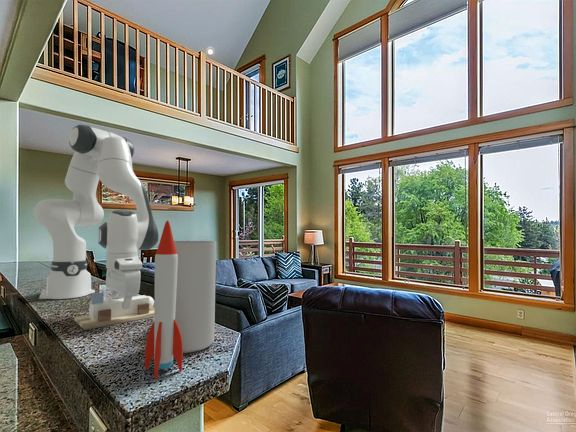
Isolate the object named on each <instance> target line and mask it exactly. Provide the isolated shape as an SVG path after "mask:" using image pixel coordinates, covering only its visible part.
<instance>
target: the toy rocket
mask: <svg viewBox="0 0 576 432" xmlns="http://www.w3.org/2000/svg"><path fill="white" fill-rule="evenodd" d="M174 241H175V240H174V235H173V231H172V227H171V224H170V221H169V220H166V221H165V222H164V226H163V229H162V233H161V236H160V239H159V243H158V246H157V249H156V253H155V255H154V308H155V310H154V317H153V318H154V322H153V321H152V324H151V325H150V329H149V330H148V334H147V336H146V342H145V351H144V352H145V353H144V362H145V363H144V370H145V371H146V370H148V369H149V367H150V365H151V362H152V360H154V361H153V366H154V369H153V372H154V373H153V376H154V377H153V379H154V380H157V379H158V376H159V369H160V370H162V369H168V368H170V367H171V366H173V365H174V359H175V362H176V364H177V367H178V370H179V371H180V372H183V359H184V357H183V355H184V353H183V343H182V336H181V333H180V329H179V327H178V324H177V322H176V320H175V310H176V289H177V268H178V255H177V251H176V247H175V244H174Z"/></svg>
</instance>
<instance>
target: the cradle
mask: <svg viewBox="0 0 576 432" xmlns="http://www.w3.org/2000/svg"><path fill="white" fill-rule="evenodd" d="M154 310H155V306H153V307H152V308H151V309H149V303H144V304H138V310H137V313H136V314H131V315H125V316H119V317H114V318H111V309H105V310H99V311H98V320H96V321H92V320H91V319H90V318H89V314H85V315H80V316H74V318H73V319H74V322H76V323H77V325H79V326H80V327H81V328H82V329H83V330H84V331H86V330H91V329H97V328H102V327H108V326H112V325H118V324H122V323H123V324H124V323H128V322H133V321H139V320H143V319H149V318H154Z"/></svg>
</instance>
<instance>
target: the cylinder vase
mask: <svg viewBox="0 0 576 432" xmlns="http://www.w3.org/2000/svg"><path fill="white" fill-rule="evenodd" d="M174 244H175V247H176V251H177V255H178V268H177V289H176V310H175V320H176V322H177V324H178V327H179V329H180V333H181V336H182V343H183V354H188V353H195V352H200V351H203V350H205V349H207V348H209V347H210V346H212V344H213V343H214V342H215V341H214V340H215V325H216V324H215V323H216V322H215V320H216V318H215V317H216V316H215V315H216V314H215V313H216V279H217V278H216V272H217V271H216V270H217V269H216V268H217V265H216V264H217V241H214V240H213V241H212V240H174Z"/></svg>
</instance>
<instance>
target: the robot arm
mask: <svg viewBox="0 0 576 432" xmlns="http://www.w3.org/2000/svg"><path fill="white" fill-rule="evenodd" d="M68 143H69V146H70V148H71V150H73V151H74V153H73V155H72V158H71V159H70V162H69V165H68V169H67V172H66V175H65V179H64V185H65V187H66V188H67V189H68V190H70V191H71V192H72V194H73V196H72V199H63V198H49V199H42V200H40V201H39V202H37V204H36V205H35V207H34V210H33V216H34V217H35V220H36V222H37V223H38V224H40V225H41V226H43V227H44V228H45V229H46V231H47V232H48V233H49V235H50V237H51V241H52V255H53V257H52V261H51V264H50V270H51V271H50V274H48V276H47V277H46V278H45V279H44V280H42V286H43V287H44V288H43V290H41V293H40V295H39V297H38V299H39V300H47V299H48V300H64V299H74V298H81V297H85V296H88V295H92V294H93V293H96V290H95V289H92V279H91V278H92V276H91V273H90V272H89V271H88V270H87V269H88V260H87V241H86V239H84V238H83V237H82V236H79V235H78V234H77V233H76V230H75V228H76V227H77V228H78V227H79V228H80V227H82V228H83V227H84V228H88V227H93V226H98V225H99V224H101V222H102V221H103V220H104V216H105V211H104V209H103V207H102V206H101V204H100V203H99V202H98V198H97V190H98V189H97V188H98V185H99V182H101V184H103V185H104V186H105V187H106V188H107V189H109V190H111V191H113V192H116V193H119V194H121V195H124V196H126V197H128V198H129V199H131V200H132V201H133V203H134V204H135V207H136V211H137V213H136V212H134V211H131V210H123V209H121V210H117V209H116V210H113V211H111V212H110V214H109V216H108V221H105V222H104V223H102V224H101V225H100V226H99V227H98V241H97V243H98V245H99V246H101V247H102V248H104V249H106V255H105V256H106V257H105V268H106V273H105V276H106V277H105V286H106V288H107V289H109V290H110V295H111V300H113V299H120V294H121V295H122V298H124V300H123V303H122V308H123V309H124V310H126V309H129V308H130V302H131V299H132V297H134V296H138V295H139V292H140V287H141V271H140V270H142V269H143V262H142V261H141V259H140V257H139V250H141V251H142V250H143V251H149V250H152V248H154V247H155V246H156V245H157V244H158V242H159V230H158V227H157V224H156V222H155V219H154V216H153V213H152V212H153V211H152V208H151V205H150V200H149V197H148V193H147V190H146V187H145V183H144V181H143V180H140V179H139V178H138V177H137V176H136V173H135V172H134V170H133V169H134V168H133V157H134V153H135V148H134V143H133V142H132V141H131V140H130V139H128V138H126V137H124V136H120V135H118V134H116V133H114V132H110V131H108V130H103V129H100V128H97V127H92V126H90V125H87V124H77V125H75V126H74V127H72V130H71V131H70V133H69V138H68ZM138 220H139V221H138Z"/></svg>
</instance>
